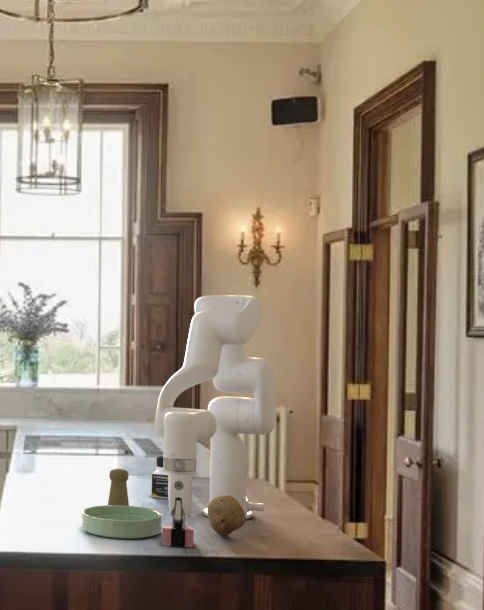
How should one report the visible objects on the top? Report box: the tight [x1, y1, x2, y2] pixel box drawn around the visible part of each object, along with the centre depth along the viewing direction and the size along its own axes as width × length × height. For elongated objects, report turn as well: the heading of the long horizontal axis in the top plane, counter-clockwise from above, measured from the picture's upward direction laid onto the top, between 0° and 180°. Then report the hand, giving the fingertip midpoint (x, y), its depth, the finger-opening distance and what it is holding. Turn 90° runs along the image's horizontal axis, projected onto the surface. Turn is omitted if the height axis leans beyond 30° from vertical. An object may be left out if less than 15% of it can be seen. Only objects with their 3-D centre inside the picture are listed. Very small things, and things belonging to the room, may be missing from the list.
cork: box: [107, 468, 130, 506], centre depth 274 cm, size 6×6×11 cm
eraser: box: [161, 525, 195, 548], centre depth 233 cm, size 7×3×4 cm, turn 79°
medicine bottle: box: [151, 454, 168, 499], centre depth 295 cm, size 7×7×12 cm
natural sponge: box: [206, 495, 246, 538], centre depth 243 cm, size 9×9×10 cm
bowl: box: [81, 504, 163, 540], centre depth 246 cm, size 19×19×4 cm
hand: (178, 544), depth 233 cm, fingers closed on eraser, 3 cm apart
